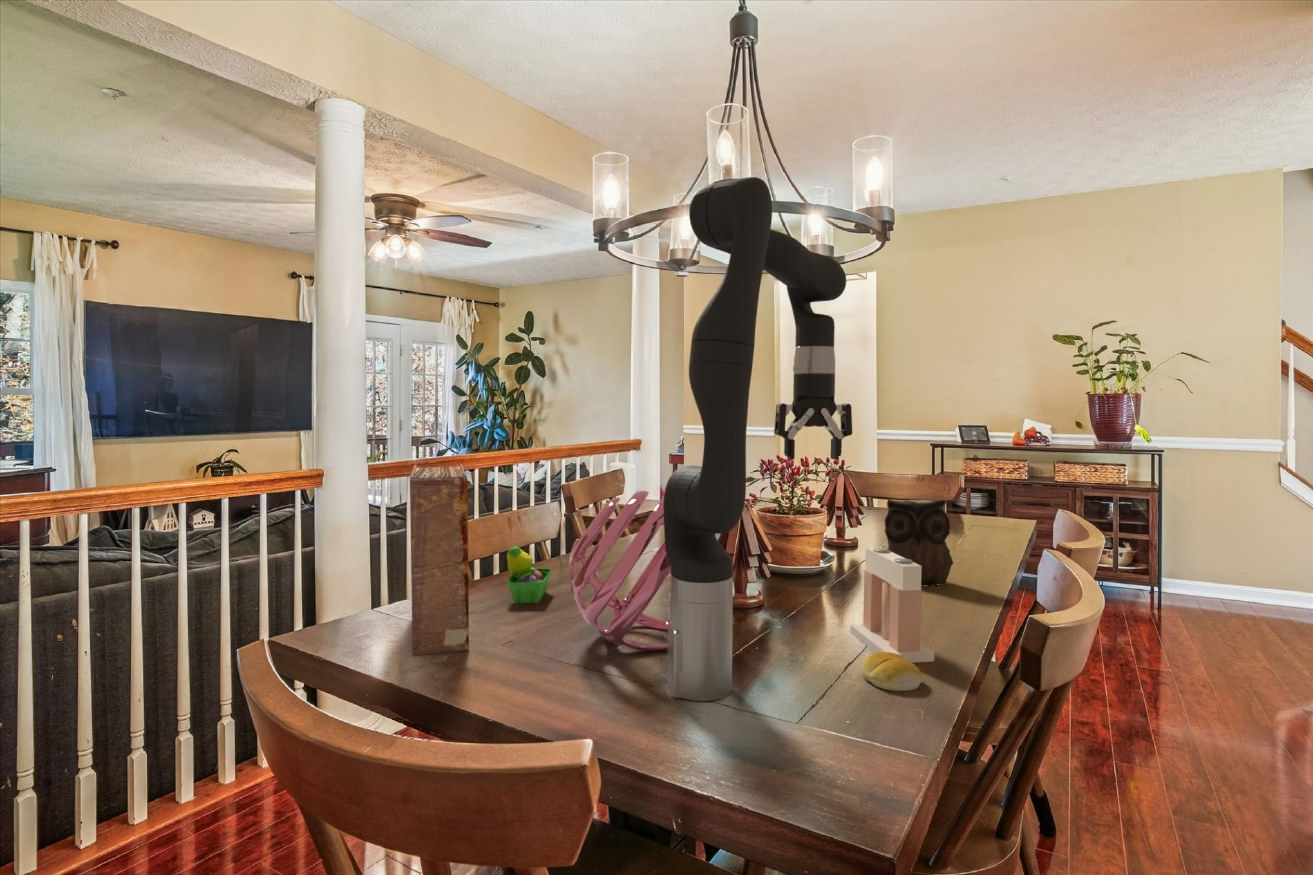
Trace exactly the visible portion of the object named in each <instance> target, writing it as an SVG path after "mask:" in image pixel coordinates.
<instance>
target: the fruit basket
mask: <svg viewBox="0 0 1313 875" xmlns="http://www.w3.org/2000/svg"><path fill="white" fill-rule="evenodd" d="M506 560H507V569H508V572H509V573H510V574H511V576H510V577H509V578H508V579H507V585H508V586H509V589H510V594H511V598H512V601H513V603H514V604H516V605H517V604H524V603H531V604H534V603H538V604H539V603H540V601H541V600H542V598H543V596H544V594H545V593H546V592H547V587H548V582H549V579H550V575H551V573H552V569H551V568H548V567H546V568H545V567H532V565H533V563H534V559H533V557H532V556H531V555H529V554H528V553H527V552H526V551H524V550H523V549H521V548H520V547H519V546H513V547H509V548H508V552H507V554H506Z"/></svg>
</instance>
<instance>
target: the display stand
mask: <svg viewBox="0 0 1313 875" xmlns="http://www.w3.org/2000/svg"><path fill="white" fill-rule="evenodd" d="M863 572H864V573H863V582H864V583H863V612H862V613H863V615H862V616H863V620H862V621H863V623H862V624H850V629H849V630H850V631H849V632H850V634H851V635H852V636H854V637H855V638H856V639H858V640H859V641H860V642H861V643H862V644H864V645H865V646H866V647H867V648H869V650H871V651H872V652H873V653H878V652H890V653H895V654H898V655H899V656H901V657H902V658H903V659H905V660H908V661H910V662H911V663H913V664H916V663H929V662H931V663H933V662H935V652H934V651H933V650H932V649H930V648H929V647H927V646H925V645H924V644H922V643H921V629H922V628H921V627H922V626H921V625H922V595H923V593H922V590H923V588H921V590H908V591H902V590H900V589H899V588H897V587H895V586H893V585H892V584H890V583H888V582H886V581H885V580H883V579H881V578H879V577H878V576H876V575H874V574H872V573H871V572H869V571H867V570H865V569H864V570H863Z"/></svg>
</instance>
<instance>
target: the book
mask: <svg viewBox="0 0 1313 875" xmlns="http://www.w3.org/2000/svg"><path fill="white" fill-rule="evenodd" d="M413 465H414V466H413V467H412V471H411V473H410V477H409V509H410V510H409V511H410V512H409V513H410V514H409V515H410V517H409V518H410V519H409V520H410V572H411V581H410V582H411V626H412V627H411V629H412V630H411V631H412V632H411V636H412V639H411V641H412V643H411V644H412V656H423V655H430V654H431V655H432V654H441V653H453V652H458V651H459V652H461V651H469V650H470V628H469V627H470V626H469V623H470V618H469V617H470V616H469V614H470V613H469V612H470V611H469V606H470V605H469V602H470V601H469V600H470V599H469V519H468V518H469V517H468V516H469V508H468V507H469V506H468V505H469V504H468V503H469V500H468V498H469V497H468V496H469V492H468V489H469V488H468V487H469V486H468V484H469V483H468V477H467V474H466V471H465V468H464V465H463V463H459V466H435V467H433V466H432V467H431V466H430V467H418V465H417V464H413Z"/></svg>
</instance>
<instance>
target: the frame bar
mask: <svg viewBox="0 0 1313 875" xmlns="http://www.w3.org/2000/svg"><path fill="white" fill-rule="evenodd" d="M864 567H865V569H864V570H867V571H869V572H871V573H872V574H874V575H876V576H878V577H879V578H881V579H883V580H885V581H886V582H888V583H890V584H892V585H893V586H895V587H897V588H899V589H900V590H902V591H908V590H921V589H922V586H921V566H920V565H918V564H916V563H914V562H912V560H910V559H905V558H903V557H901V556H899V555H897V554H895V553H893V552H891V551H890V550H889V549H888V548H884V547H867V548H866V547H865V566H864Z"/></svg>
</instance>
